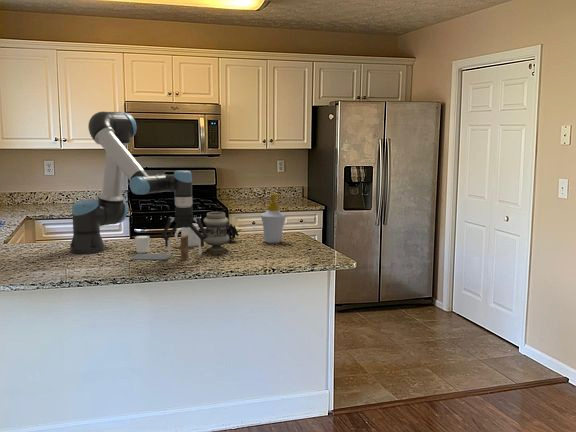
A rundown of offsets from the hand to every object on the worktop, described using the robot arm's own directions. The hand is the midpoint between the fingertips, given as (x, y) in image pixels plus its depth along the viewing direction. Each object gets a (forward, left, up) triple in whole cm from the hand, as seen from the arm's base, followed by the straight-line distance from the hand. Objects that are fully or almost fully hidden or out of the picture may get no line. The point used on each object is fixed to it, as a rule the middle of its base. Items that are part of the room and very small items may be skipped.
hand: (184, 254), depth 250 cm
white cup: (-22, +14, -2) cm, 26 cm away
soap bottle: (+38, +39, -2) cm, 55 cm away
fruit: (+14, +39, -2) cm, 42 cm away
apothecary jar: (+12, +17, -2) cm, 21 cm away
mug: (-4, +28, -2) cm, 28 cm away
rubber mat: (-15, +2, -2) cm, 15 cm away
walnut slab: (0, 0, -2) cm, 2 cm away
